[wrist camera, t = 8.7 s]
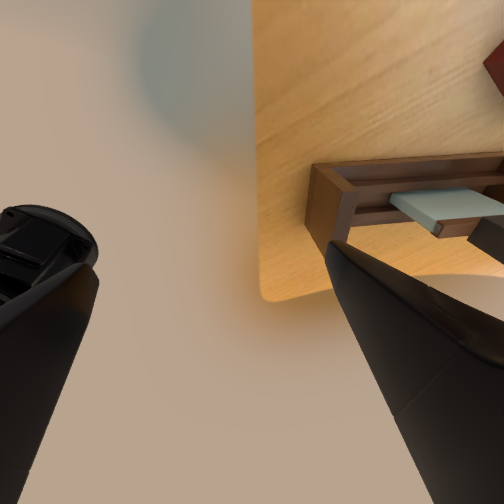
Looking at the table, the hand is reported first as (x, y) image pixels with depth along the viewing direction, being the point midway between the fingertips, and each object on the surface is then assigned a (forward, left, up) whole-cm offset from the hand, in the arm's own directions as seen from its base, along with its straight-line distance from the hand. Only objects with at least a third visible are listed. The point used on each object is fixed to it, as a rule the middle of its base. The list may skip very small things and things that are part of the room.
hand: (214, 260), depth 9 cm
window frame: (+9, -15, -12) cm, 21 cm away
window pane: (+10, -16, -11) cm, 22 cm away
